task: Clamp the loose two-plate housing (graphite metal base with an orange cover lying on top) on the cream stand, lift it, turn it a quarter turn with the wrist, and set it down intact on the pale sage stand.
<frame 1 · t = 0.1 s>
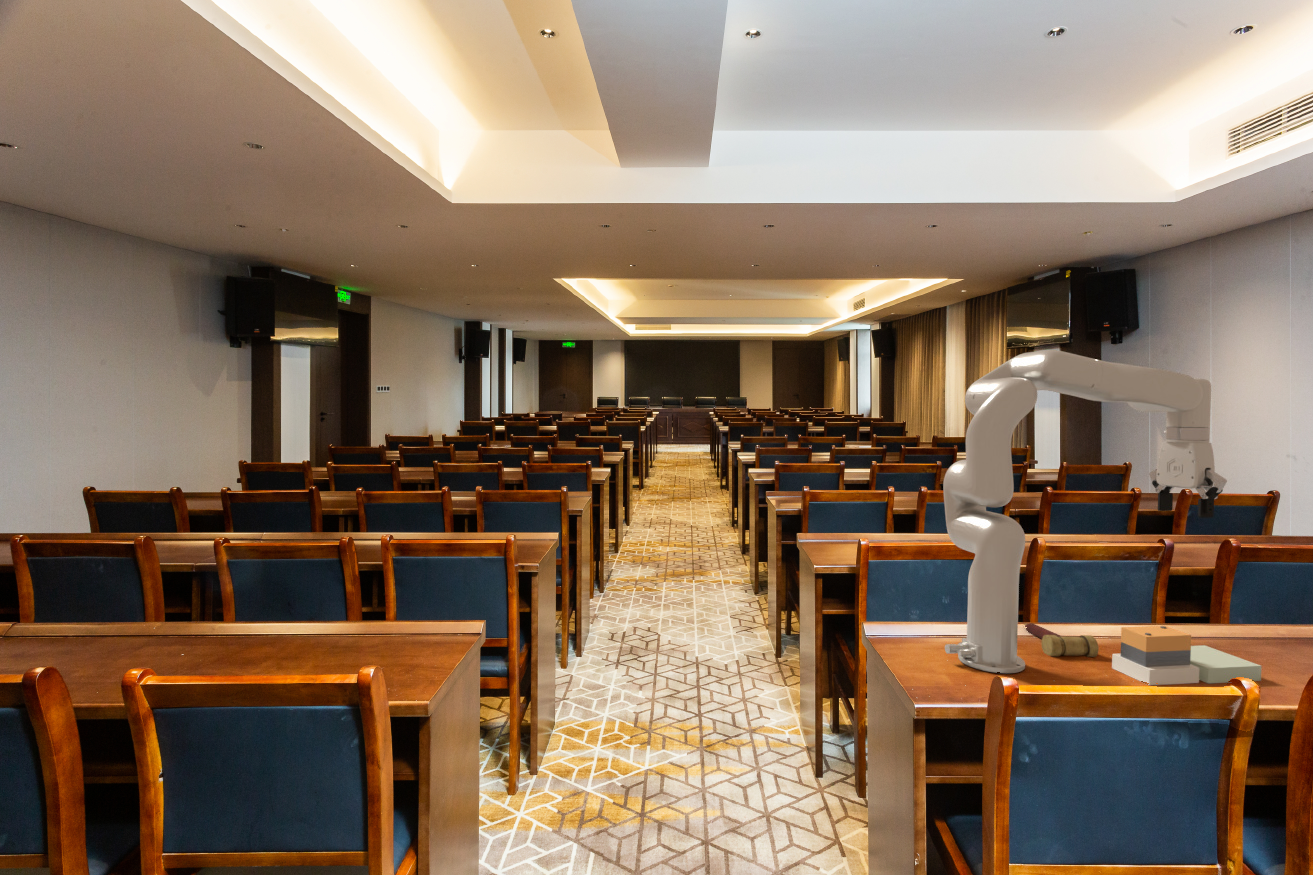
hand: (1184, 513, 148), 31 cm above the table, tool pointing down, fingers open, 9 cm apart
housing cover: (1155, 645, 137), point 6 cm above the table, touching housing base
gavel: (1048, 644, 157), on the table
stand a: (1154, 675, 137), on the table
stand b: (1206, 670, 140), on the table
housing base: (1154, 660, 137), point 3 cm above the table, touching housing cover, stand a
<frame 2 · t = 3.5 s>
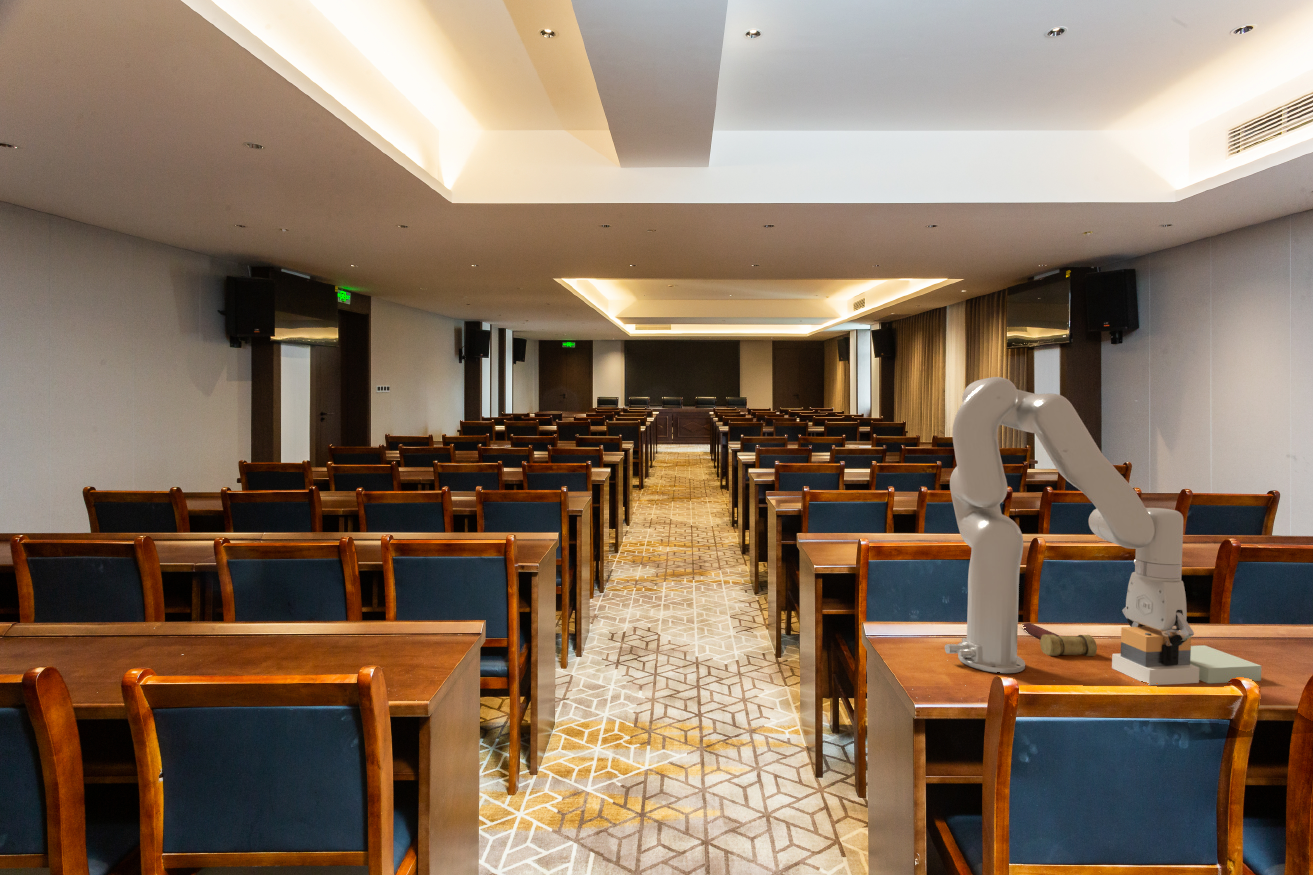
hand: (1154, 657, 137), 4 cm above the table, tool pointing down, fingers closed on housing base, housing cover, 6 cm apart
housing cover: (1155, 645, 137), point 6 cm above the table, touching gripper, housing base
housing base: (1154, 660, 137), point 3 cm above the table, touching gripper, housing cover, stand a
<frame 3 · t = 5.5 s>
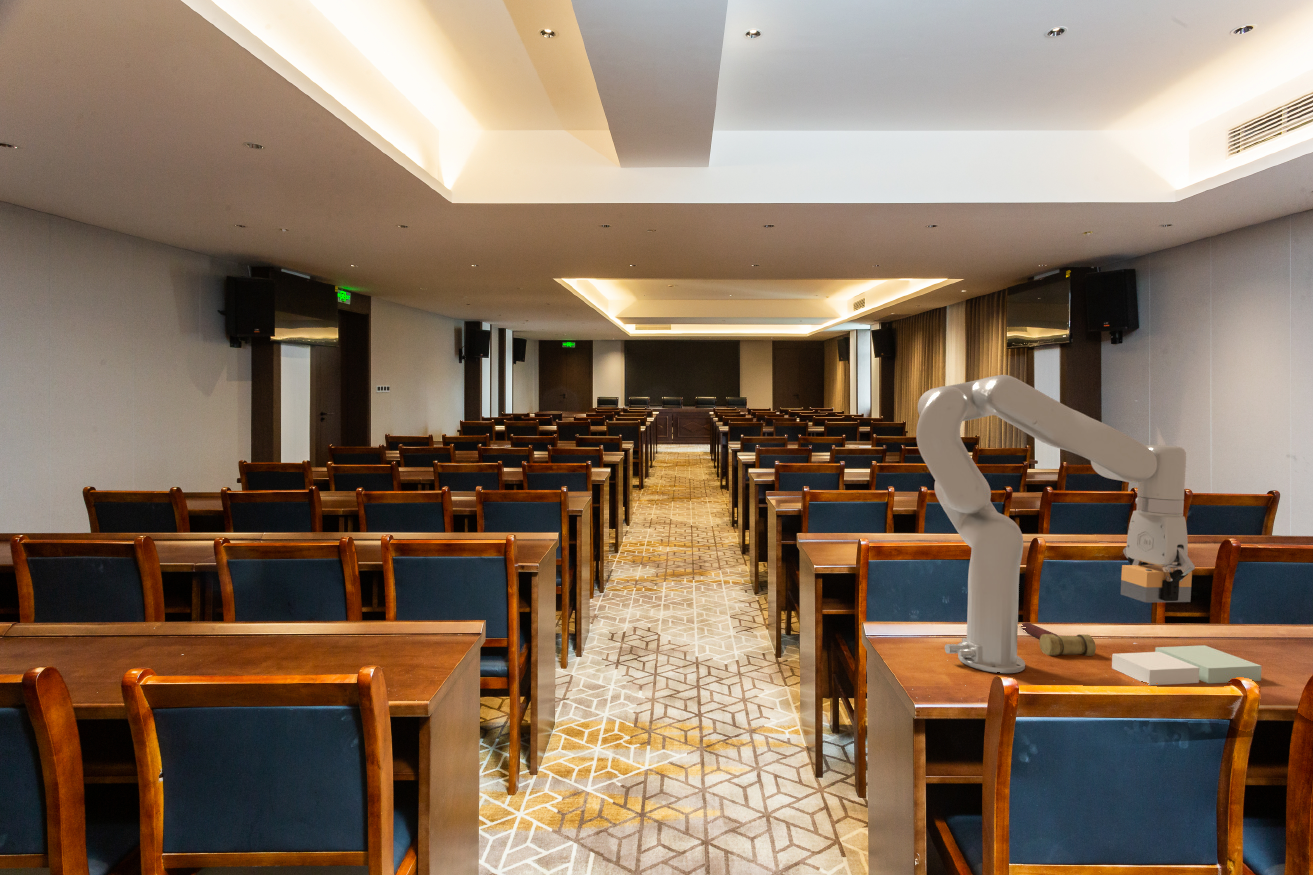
hand: (1154, 594, 136), 16 cm above the table, tool pointing down, fingers closed on housing base, housing cover, 6 cm apart
housing cover: (1155, 583, 136), point 19 cm above the table, touching gripper, housing base
housing base: (1154, 597, 137), point 16 cm above the table, touching gripper, housing cover
everything else where it was.
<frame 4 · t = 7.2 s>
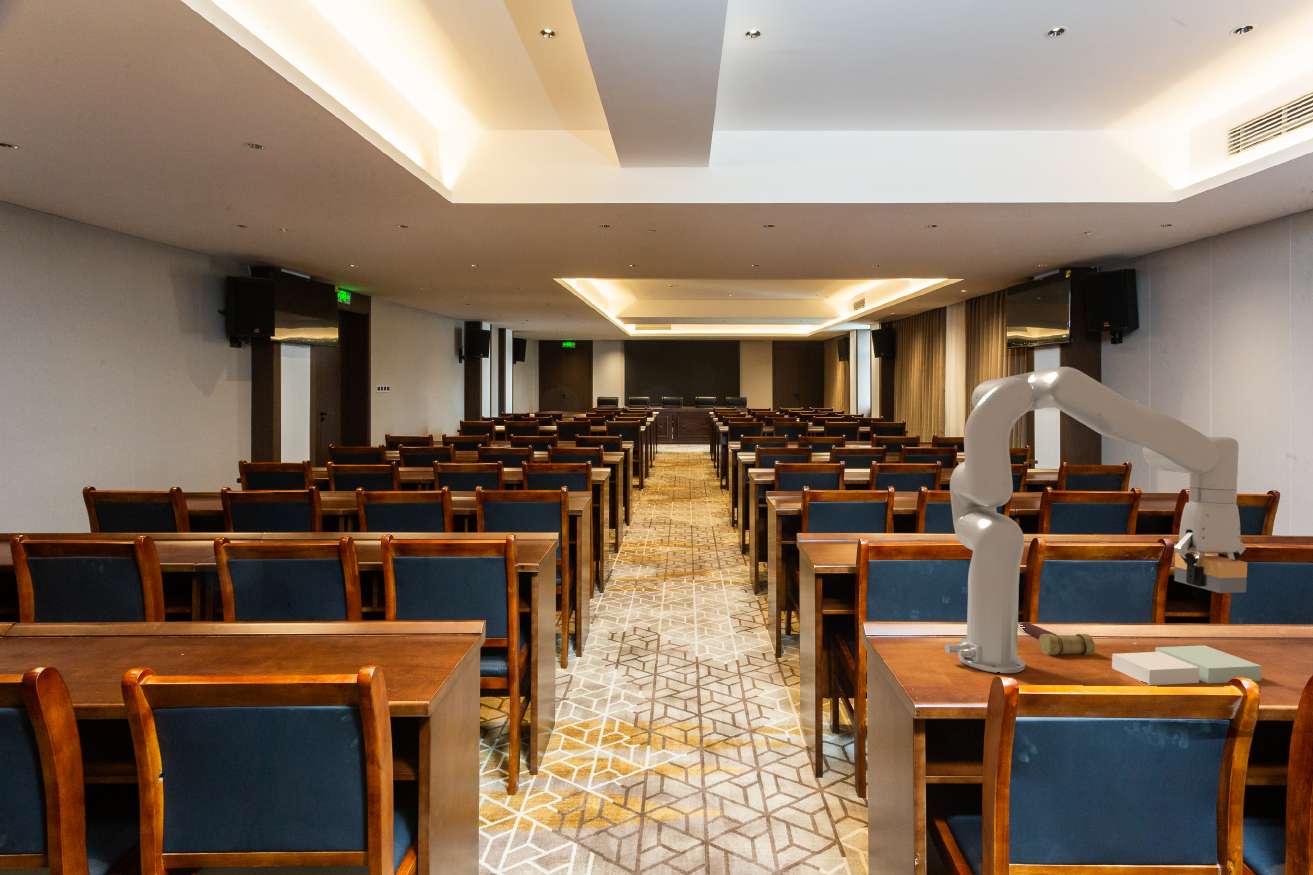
hand: (1208, 583, 139), 18 cm above the table, tool pointing down, fingers closed on housing base, housing cover, 6 cm apart
housing cover: (1209, 571, 139), point 21 cm above the table, touching gripper, housing base
housing base: (1209, 586, 139), point 18 cm above the table, touching gripper, housing cover
everything else where it was.
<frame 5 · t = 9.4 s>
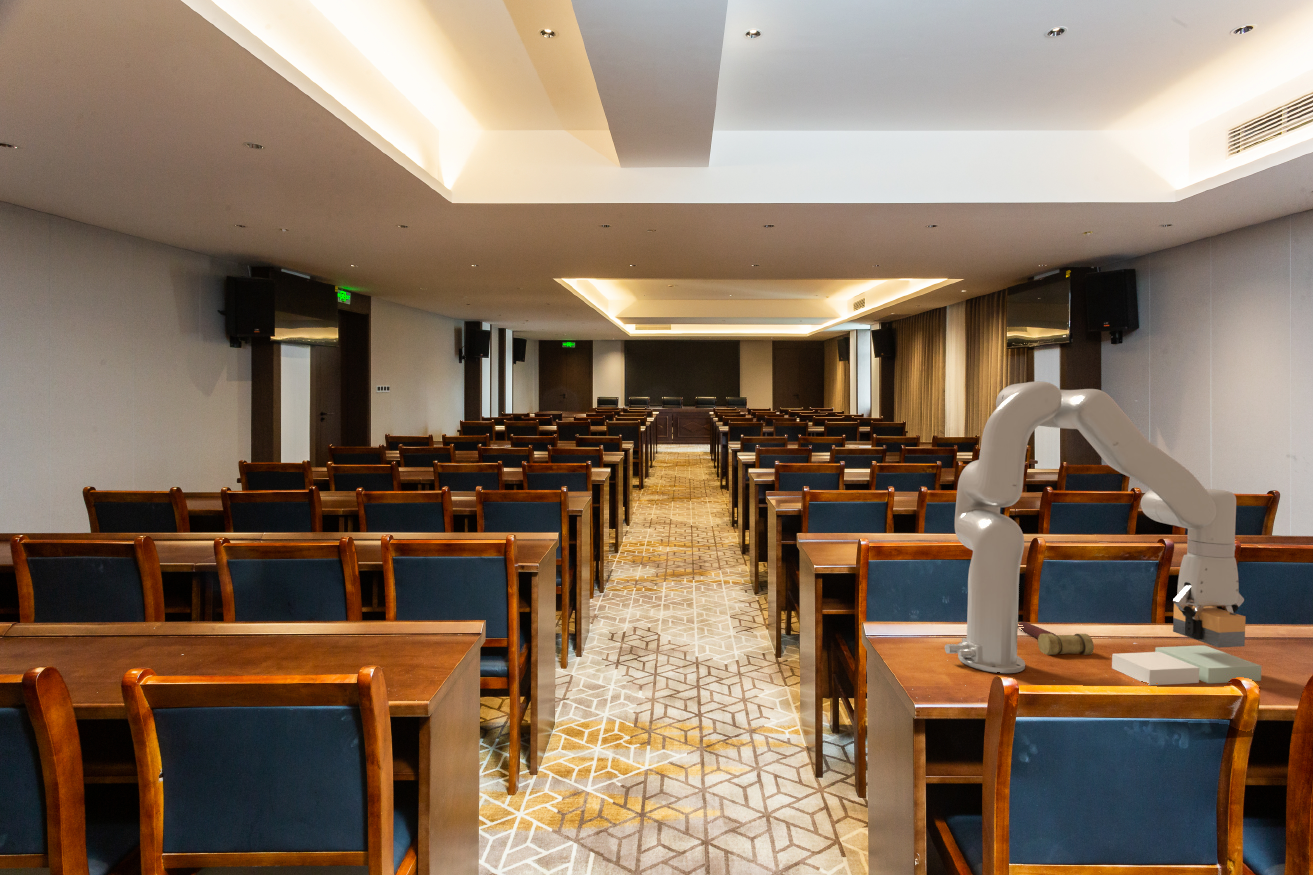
hand: (1207, 635, 140), 7 cm above the table, tool pointing down, fingers closed on housing base, housing cover, 6 cm apart
housing cover: (1208, 624, 139), point 10 cm above the table, touching gripper, housing base
housing base: (1207, 638, 139), point 7 cm above the table, touching gripper, housing cover
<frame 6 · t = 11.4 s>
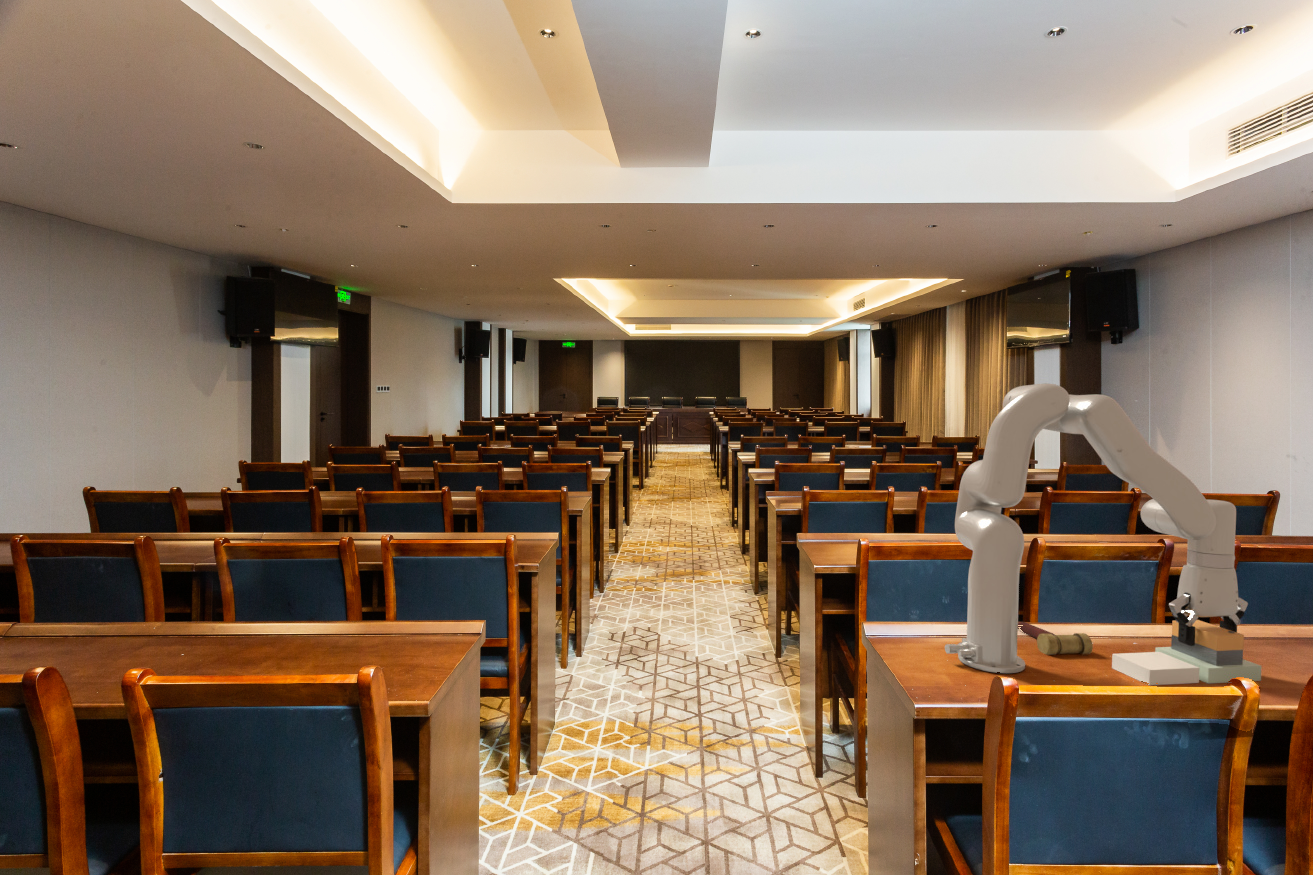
hand: (1207, 642, 140), 6 cm above the table, tool pointing down, fingers open, 9 cm apart
housing cover: (1206, 641, 140), point 6 cm above the table, touching housing base
housing base: (1205, 656, 140), point 3 cm above the table, touching housing cover, stand b
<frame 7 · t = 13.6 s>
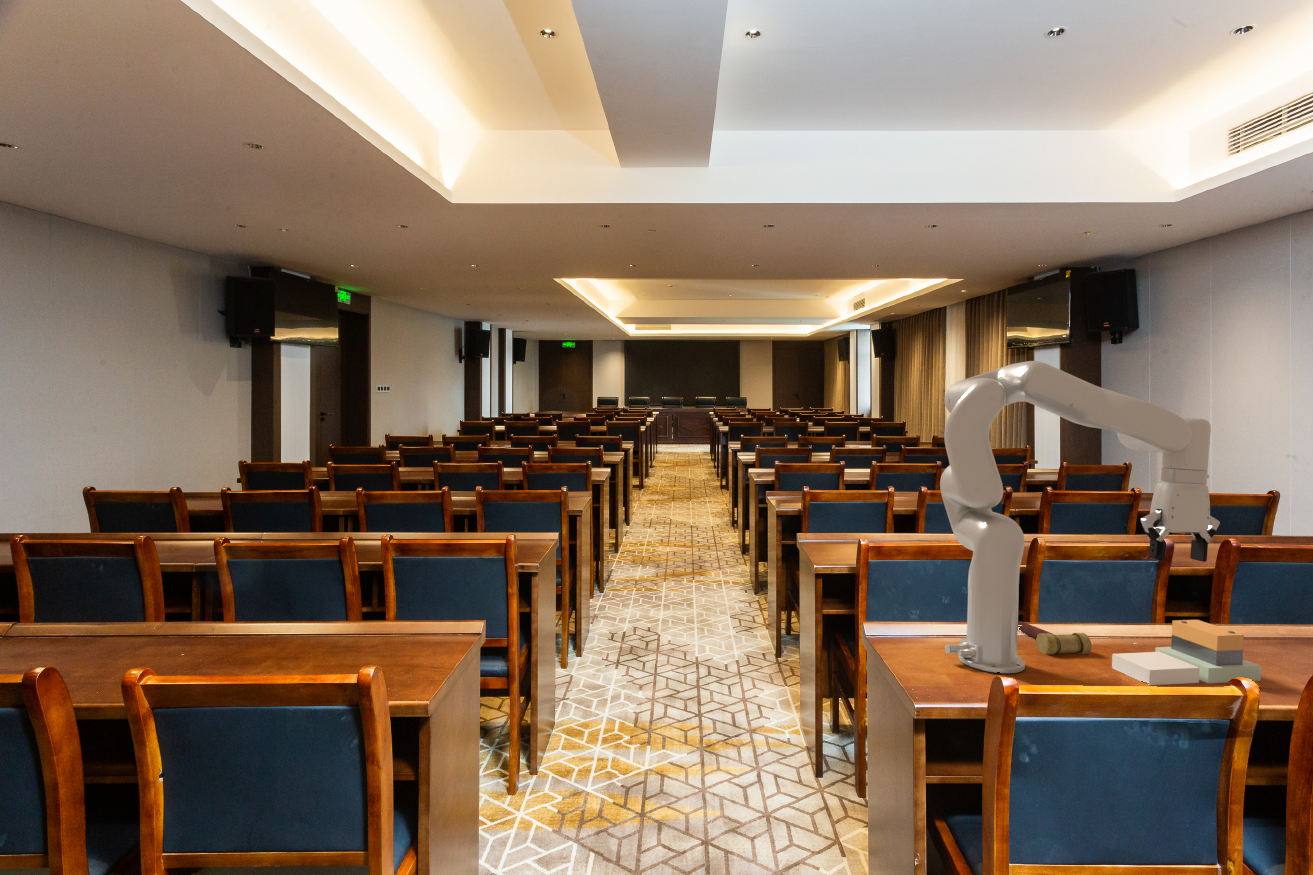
hand: (1177, 559, 141), 23 cm above the table, tool pointing down, fingers open, 9 cm apart
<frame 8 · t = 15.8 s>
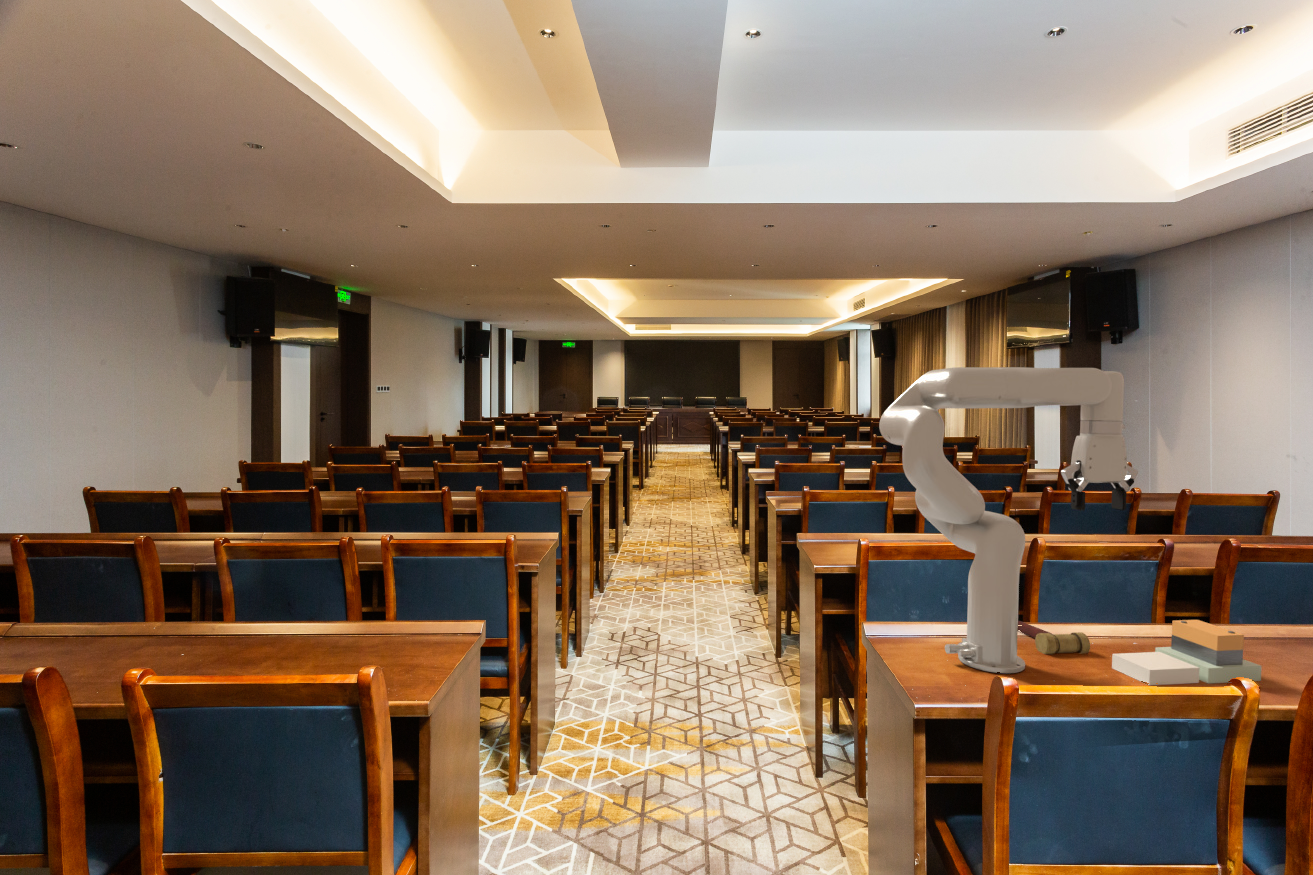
hand: (1098, 509, 145), 32 cm above the table, tool pointing down, fingers open, 9 cm apart
at the end: housing base inside the target area on the stand b (0.2 cm from its centre), point 3.0 cm above the stand b's base; housing cover 0.1 cm off-centre on the housing base, point 3.0 cm above the housing base's base; housing cover tilted 0° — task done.
